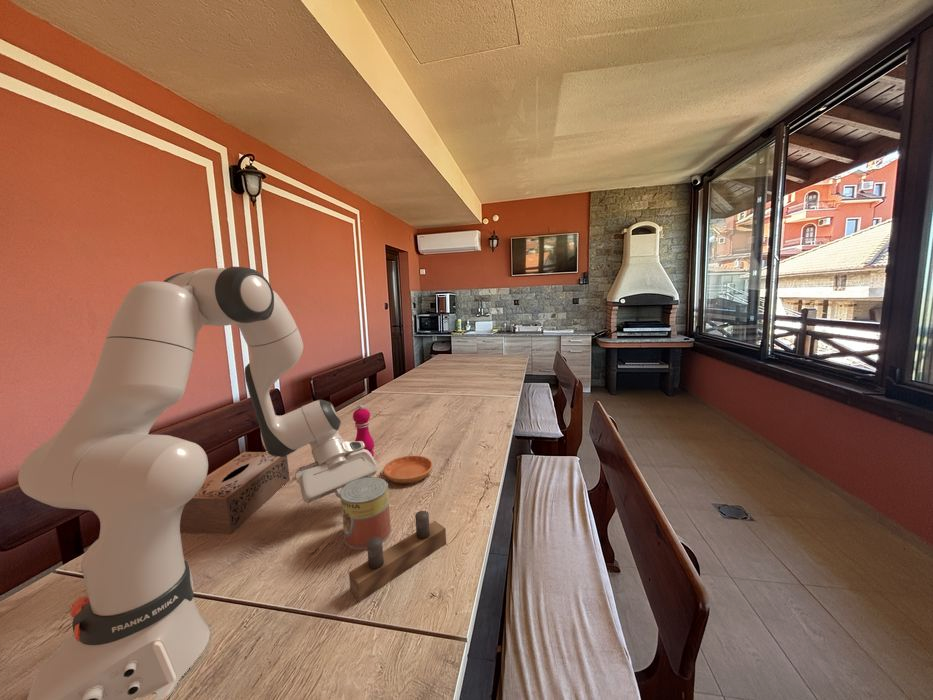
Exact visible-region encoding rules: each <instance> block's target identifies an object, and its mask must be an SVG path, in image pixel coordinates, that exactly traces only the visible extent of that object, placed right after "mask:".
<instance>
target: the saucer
mask: <svg viewBox="0 0 933 700" xmlns="http://www.w3.org/2000/svg"><path fill="white" fill-rule="evenodd" d="M432 470H433V461H431V459H429V458H428V457H425V456H422V455H404V456H400V457H397V458H394V459H392V460H389V462H388V463H386V464H385V465H384V466H383V475H384V477H386V479H388V480H389V481H391V482H392V483H394V484H399V485H408V484H415V483H417V482H420V481H422V480H423V479H425V478H426V477H427V476H429V474H430V473H431V472H432Z"/></svg>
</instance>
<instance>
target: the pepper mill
mask: <svg viewBox="0 0 933 700" xmlns="http://www.w3.org/2000/svg"><path fill="white" fill-rule="evenodd" d="M357 407H358V409H356V410H354V412H353V414H352V420H353V421H354V425H355V428H356V437H355V440H354V441H362V442H363V443H364V445H365V447H364V449H366V450H368V451H369V452H370V453H371V455H372V456H373V457H374V456H375V455H374V454H375V453H374V448H375V442H374V439H373V437H372V435H371V434H370V430H369V429H370V428H369V426H370V421H369V420H370V418H371V413H370V411H369V410H368V409H367V408H364V405H363V404H359V405H358V406H357Z"/></svg>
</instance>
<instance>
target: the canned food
mask: <svg viewBox="0 0 933 700" xmlns="http://www.w3.org/2000/svg"><path fill="white" fill-rule="evenodd" d="M340 497H341V499H340V503H341V504H340V506H341V514H342V524H343V526H342V528H343V534H344V537H343V540H344V541H343V542H344V543H345V545H346V546H347V547H349V548H351V549H354V550H367V541H368V540H369V539H370V538H372V537H380V538H381V539H382V543H384V542H385V541H386V540H387V539H388V538H389V536H390V534H391V533H392V526H391V516H390V515H391V513H390V501H389V499H390V497H389V484H388V482H387V481H386V480H385V479H384V478H381V477H378V476H372V477H365V478H360V479H357V480H354V481H352V482H350V483H348V484H347V485H345V486H344V487H343V488H342V489H341V491H340Z"/></svg>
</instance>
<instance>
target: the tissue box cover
mask: <svg viewBox="0 0 933 700" xmlns="http://www.w3.org/2000/svg"><path fill="white" fill-rule="evenodd" d="M288 462H289V461H288V455H287V456H285V457H279V456H274V455H270V454H269V453H268V452H267V451H243V452H242V453H241V454H239V455H237V456H236V457H234V458H233V459H231V460H229V461H228V462H226V463H225V464H222V465H221V466H220V467H218V468H216V469H215V470H214V471H212V472H211V473H209V474H207V476H206V479H205V481H204V484H203V485H202V487H201V489H200V490H199V491H198V493H197V494H196V495H195V496H194V497H193V498H192V499H191V500H190V501H189V502H187V503H186V504H185V506H184V508H183V511H182V514H181V519H180V532H181V533H182V534H183V533H184V534H212V535H213V534H216V535H217V534H218V535H233V533H234V532H235V531H236V530H238V529H239V528H240V525H241V524H242V523H243V524H244V523H245V522H246V521H247V520H249V519H250V518H251V517H252V516H253V515H254V514H255V513H256V512H257V511H258V510H259V509H260V508H262V507H263V506H264V505H265V504H266V503H267V502H268V501H269V500H271V498H272V497H274V496H275V495H276V494H277V493H278V492H279V491H280V490H281V489H283V487H284V486H285V485H284V484H286V483H287V482H288V481H289V480H290V481H291V479H290V477H291V476H290V470H289V463H288ZM290 481H289V482H290ZM289 482H288V483H289ZM288 483H287V484H288ZM287 484H286V485H287ZM283 485H284V486H283ZM282 486H283V487H282ZM280 488H281V489H280ZM279 489H280V490H279ZM278 490H279V491H278ZM277 491H278V492H277ZM276 492H277V493H276ZM275 493H276V494H275ZM274 494H275V495H274ZM263 504H264V505H263ZM262 505H263V506H262ZM251 515H252V516H251ZM243 524H242V525H243ZM242 525H241V526H242ZM181 533H180V534H181Z"/></svg>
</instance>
